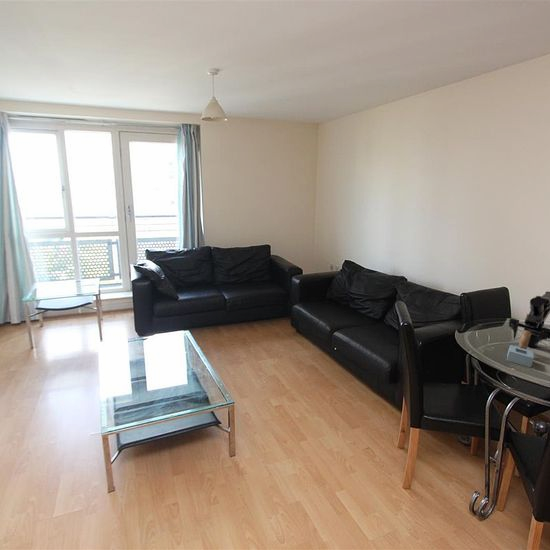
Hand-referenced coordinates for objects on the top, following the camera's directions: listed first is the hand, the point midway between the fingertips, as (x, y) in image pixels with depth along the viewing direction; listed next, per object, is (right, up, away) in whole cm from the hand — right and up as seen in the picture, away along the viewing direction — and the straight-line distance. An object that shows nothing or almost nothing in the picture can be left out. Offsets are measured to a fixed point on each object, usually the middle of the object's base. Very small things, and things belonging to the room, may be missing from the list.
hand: (524, 341), depth 190 cm
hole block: (-6, -8, -5) cm, 12 cm away
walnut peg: (0, -7, +2) cm, 8 cm away
